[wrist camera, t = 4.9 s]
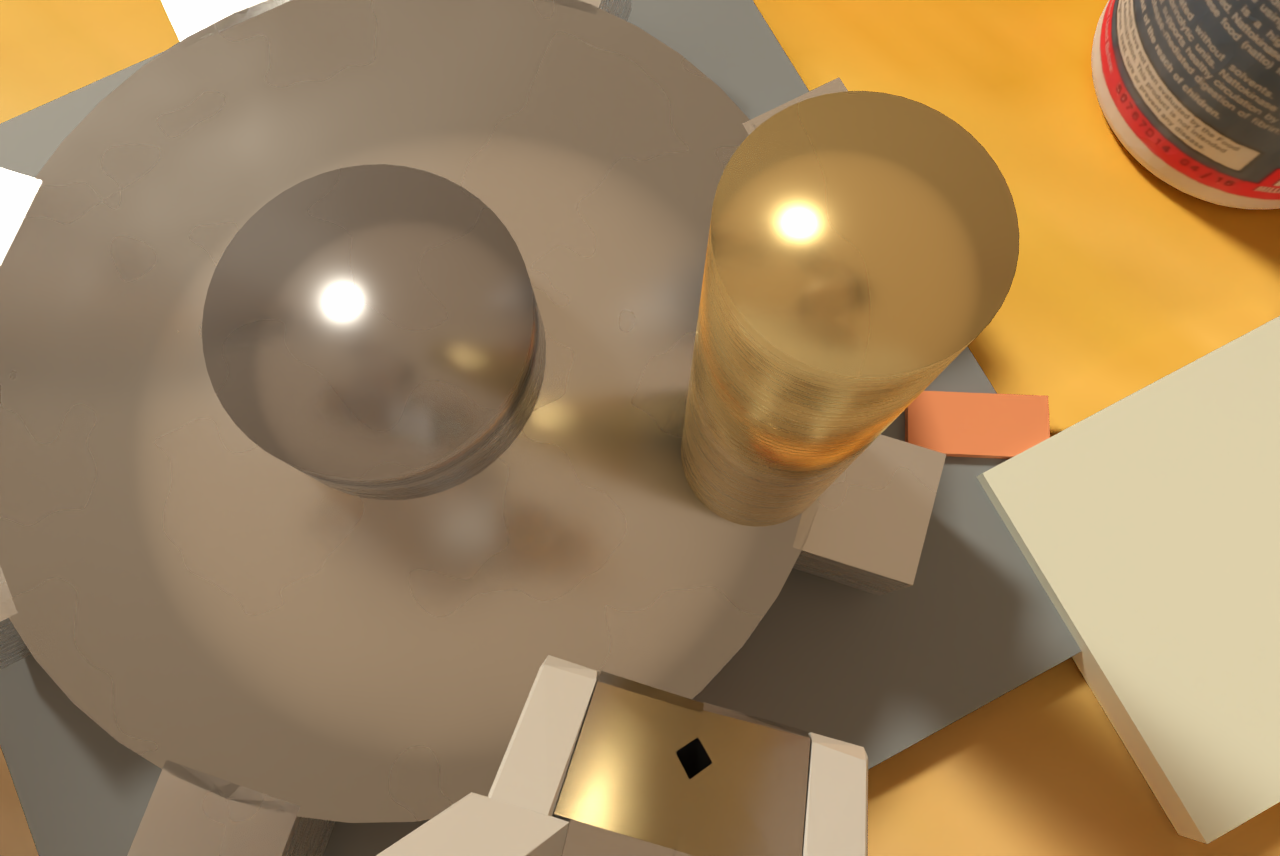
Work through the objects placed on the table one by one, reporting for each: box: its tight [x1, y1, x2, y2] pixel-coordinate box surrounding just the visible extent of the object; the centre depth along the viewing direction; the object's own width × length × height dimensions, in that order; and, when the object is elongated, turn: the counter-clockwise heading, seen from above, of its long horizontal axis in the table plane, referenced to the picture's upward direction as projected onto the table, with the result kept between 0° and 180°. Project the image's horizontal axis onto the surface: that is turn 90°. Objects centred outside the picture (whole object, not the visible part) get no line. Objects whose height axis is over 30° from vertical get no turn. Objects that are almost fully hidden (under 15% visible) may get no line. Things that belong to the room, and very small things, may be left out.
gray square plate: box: [0, 0, 1081, 856], centre depth 16 cm, size 16×17×1 cm
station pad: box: [977, 316, 1280, 844], centre depth 16 cm, size 6×6×1 cm
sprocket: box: [0, 0, 1019, 856], centre depth 11 cm, size 15×15×9 cm
